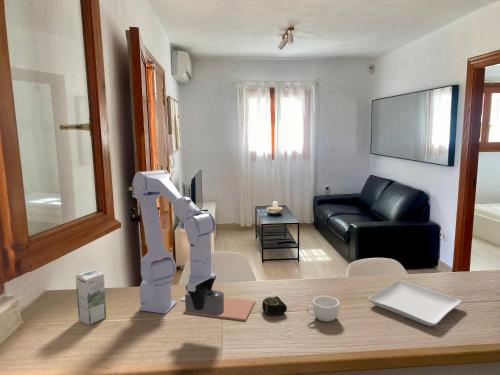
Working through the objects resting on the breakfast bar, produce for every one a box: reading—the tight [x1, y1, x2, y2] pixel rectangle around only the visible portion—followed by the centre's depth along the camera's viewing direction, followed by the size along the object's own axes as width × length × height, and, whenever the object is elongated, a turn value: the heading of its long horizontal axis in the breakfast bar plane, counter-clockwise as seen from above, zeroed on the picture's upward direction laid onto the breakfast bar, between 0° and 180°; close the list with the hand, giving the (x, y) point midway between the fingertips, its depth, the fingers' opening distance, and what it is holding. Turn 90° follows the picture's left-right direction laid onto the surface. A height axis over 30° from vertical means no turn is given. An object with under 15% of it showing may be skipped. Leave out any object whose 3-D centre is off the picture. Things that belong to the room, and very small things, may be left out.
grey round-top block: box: [179, 289, 225, 316], centre depth 99 cm, size 12×4×5 cm, turn 76°
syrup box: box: [75, 269, 107, 327], centre depth 107 cm, size 6×6×14 cm
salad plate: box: [367, 279, 462, 327], centre depth 114 cm, size 21×21×3 cm
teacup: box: [306, 295, 340, 323], centre depth 107 cm, size 10×8×5 cm
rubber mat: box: [183, 296, 256, 322], centre depth 114 cm, size 20×12×1 cm, turn 76°
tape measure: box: [261, 296, 288, 316], centre depth 112 cm, size 7×7×4 cm
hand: (202, 304), depth 99 cm, fingers closed on grey round-top block, 4 cm apart
